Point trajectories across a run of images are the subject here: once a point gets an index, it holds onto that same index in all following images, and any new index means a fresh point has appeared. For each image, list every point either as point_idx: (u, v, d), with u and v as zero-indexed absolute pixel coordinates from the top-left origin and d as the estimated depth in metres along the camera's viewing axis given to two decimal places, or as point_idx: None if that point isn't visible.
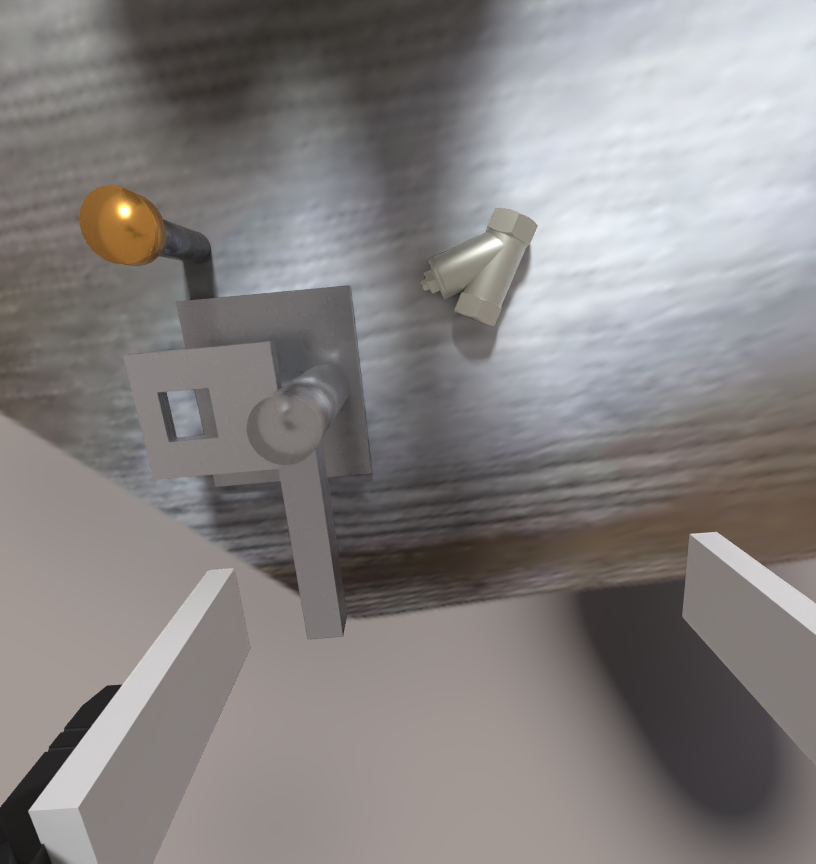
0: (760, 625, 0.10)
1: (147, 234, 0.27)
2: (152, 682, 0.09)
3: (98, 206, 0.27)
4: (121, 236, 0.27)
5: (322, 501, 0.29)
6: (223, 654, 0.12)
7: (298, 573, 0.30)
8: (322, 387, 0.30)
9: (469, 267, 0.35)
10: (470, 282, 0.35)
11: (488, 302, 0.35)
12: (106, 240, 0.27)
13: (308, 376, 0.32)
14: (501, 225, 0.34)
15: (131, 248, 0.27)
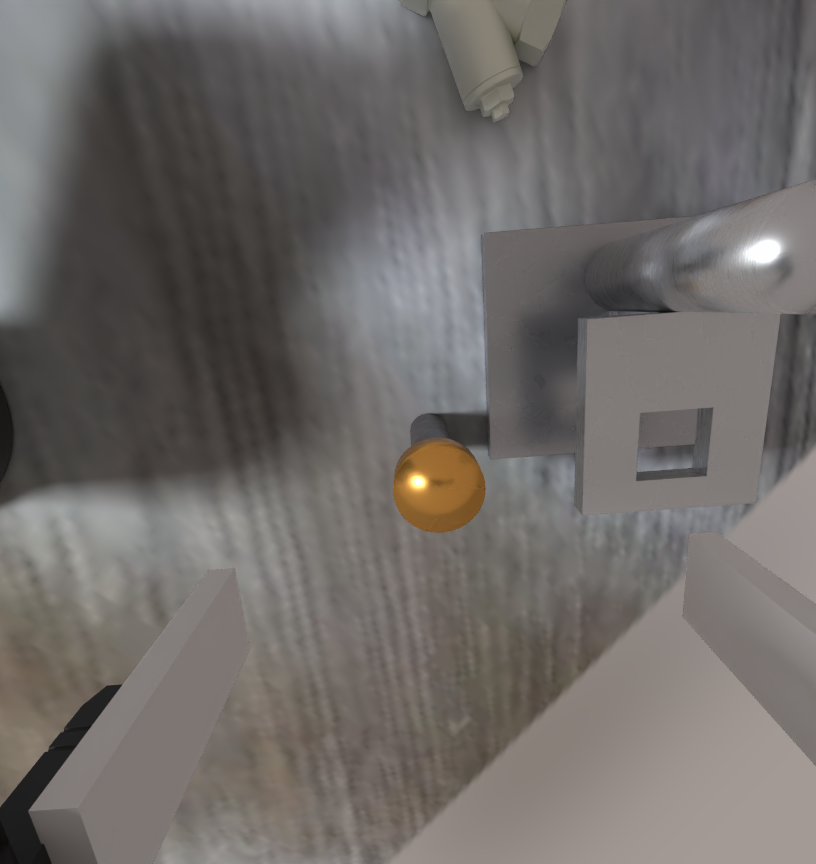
0: (759, 624, 0.10)
1: (451, 455, 0.21)
2: (152, 682, 0.09)
3: (416, 508, 0.21)
4: (452, 486, 0.21)
5: None
6: (223, 654, 0.12)
7: None
8: (681, 228, 0.19)
9: (485, 22, 0.23)
10: (505, 23, 0.23)
11: None
12: (456, 505, 0.21)
13: (645, 262, 0.21)
14: None
15: (467, 477, 0.21)
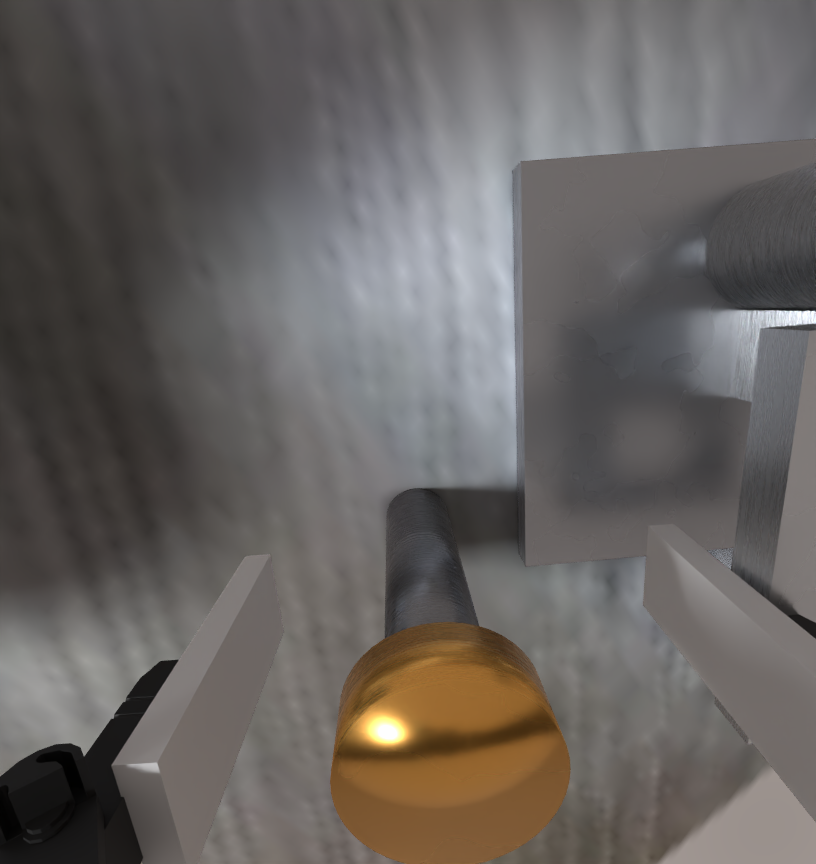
0: (704, 610, 0.11)
1: (483, 700, 0.08)
2: (208, 655, 0.10)
3: (393, 820, 0.08)
4: (485, 772, 0.08)
5: None
6: (263, 635, 0.13)
7: None
8: None
9: None
10: None
11: None
12: (495, 811, 0.08)
13: None
14: None
15: (524, 749, 0.08)
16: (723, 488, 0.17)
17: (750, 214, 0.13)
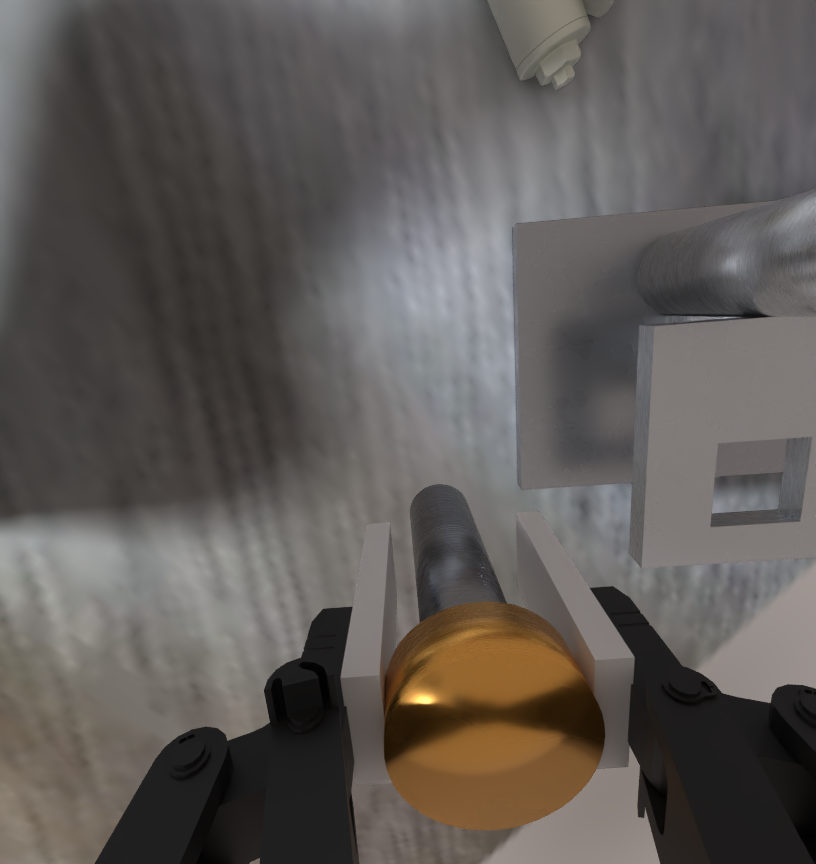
0: (540, 584, 0.13)
1: (526, 670, 0.08)
2: (377, 600, 0.11)
3: (440, 783, 0.09)
4: (526, 738, 0.09)
5: None
6: (392, 592, 0.14)
7: None
8: (788, 207, 0.14)
9: None
10: None
11: None
12: (534, 775, 0.09)
13: (732, 253, 0.16)
14: None
15: (563, 716, 0.09)
16: None
17: (658, 256, 0.21)
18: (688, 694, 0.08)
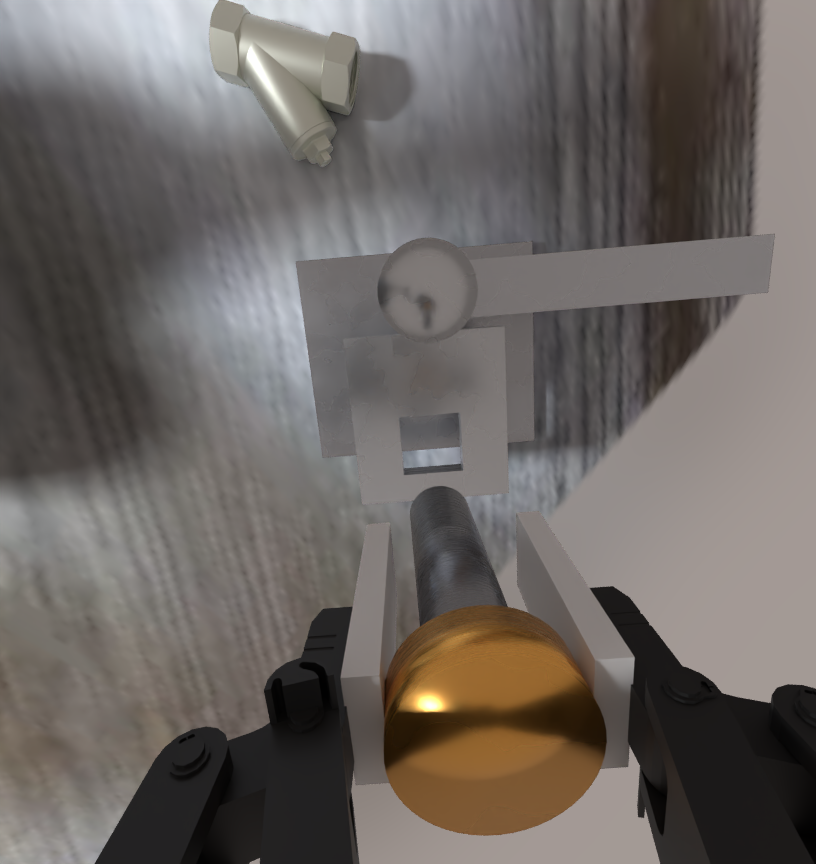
0: (540, 584, 0.13)
1: (527, 674, 0.08)
2: (377, 600, 0.11)
3: (440, 789, 0.09)
4: (527, 743, 0.09)
5: (543, 254, 0.20)
6: (392, 592, 0.14)
7: (653, 298, 0.20)
8: None
9: (288, 91, 0.27)
10: (307, 88, 0.27)
11: (326, 51, 0.26)
12: (535, 780, 0.09)
13: None
14: (230, 53, 0.26)
15: (564, 721, 0.09)
16: (418, 417, 0.34)
17: None
18: (688, 694, 0.08)
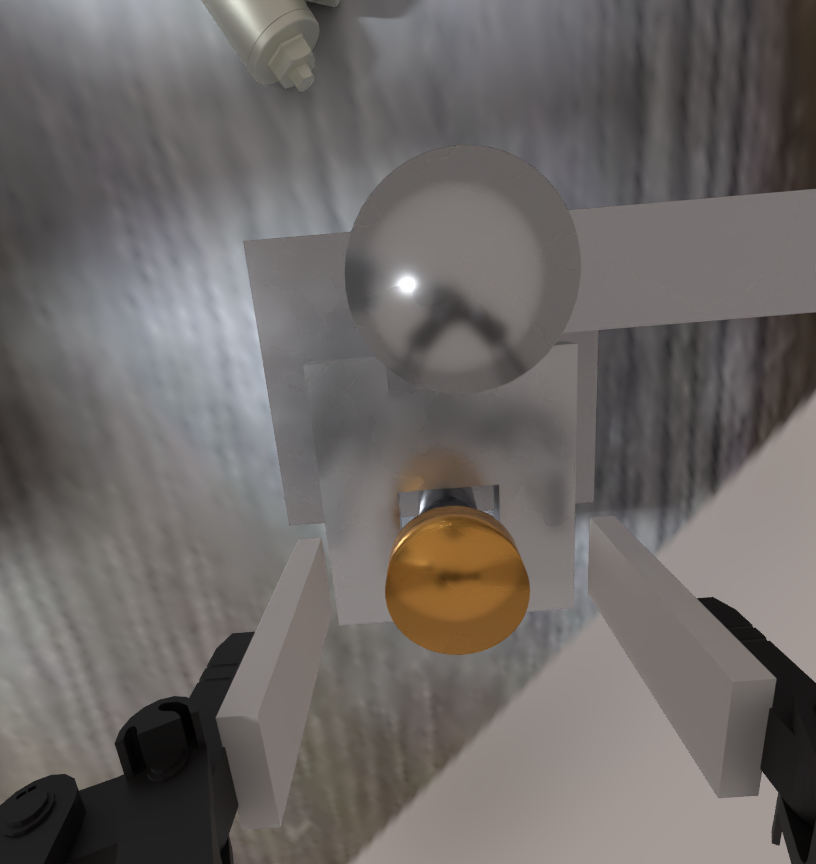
0: (630, 594, 0.12)
1: (476, 540, 0.13)
2: (282, 626, 0.11)
3: (421, 618, 0.14)
4: (477, 588, 0.13)
5: (706, 200, 0.09)
6: (318, 612, 0.13)
7: None
8: None
9: None
10: None
11: None
12: (483, 616, 0.14)
13: None
14: None
15: (501, 574, 0.13)
16: None
17: None
18: None
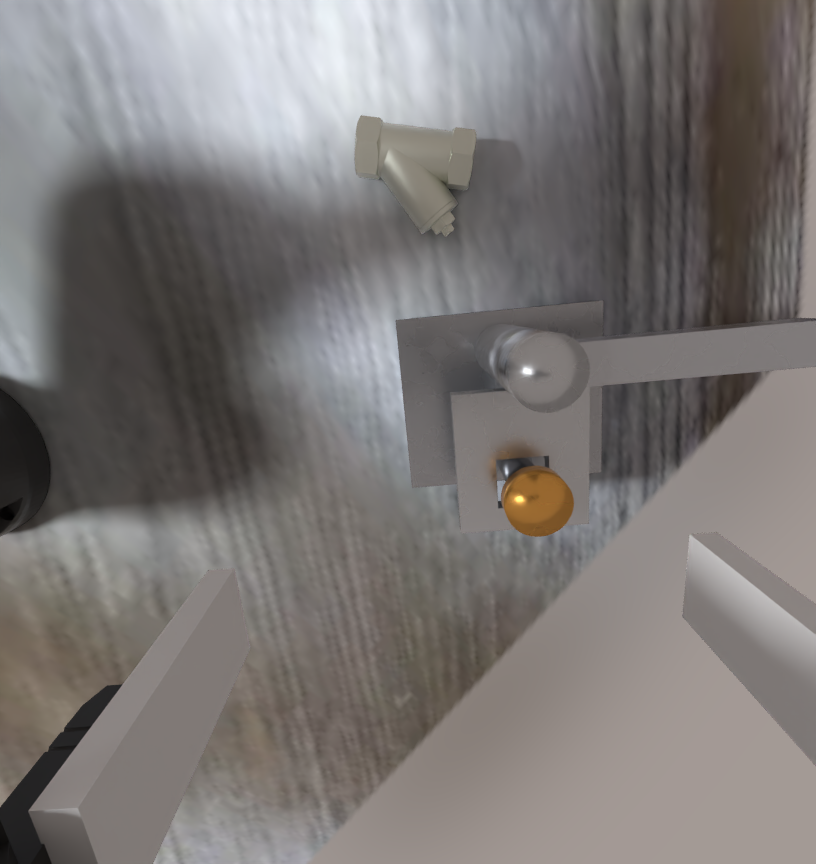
0: (759, 624, 0.10)
1: (549, 479, 0.28)
2: (152, 682, 0.09)
3: (522, 518, 0.29)
4: (549, 502, 0.28)
5: (638, 337, 0.24)
6: (223, 654, 0.12)
7: (729, 371, 0.25)
8: (501, 339, 0.28)
9: (421, 181, 0.32)
10: (435, 176, 0.32)
11: (453, 145, 0.31)
12: (551, 516, 0.29)
13: (488, 357, 0.30)
14: (371, 158, 0.31)
15: (560, 495, 0.28)
16: None
17: (479, 343, 0.35)
18: None
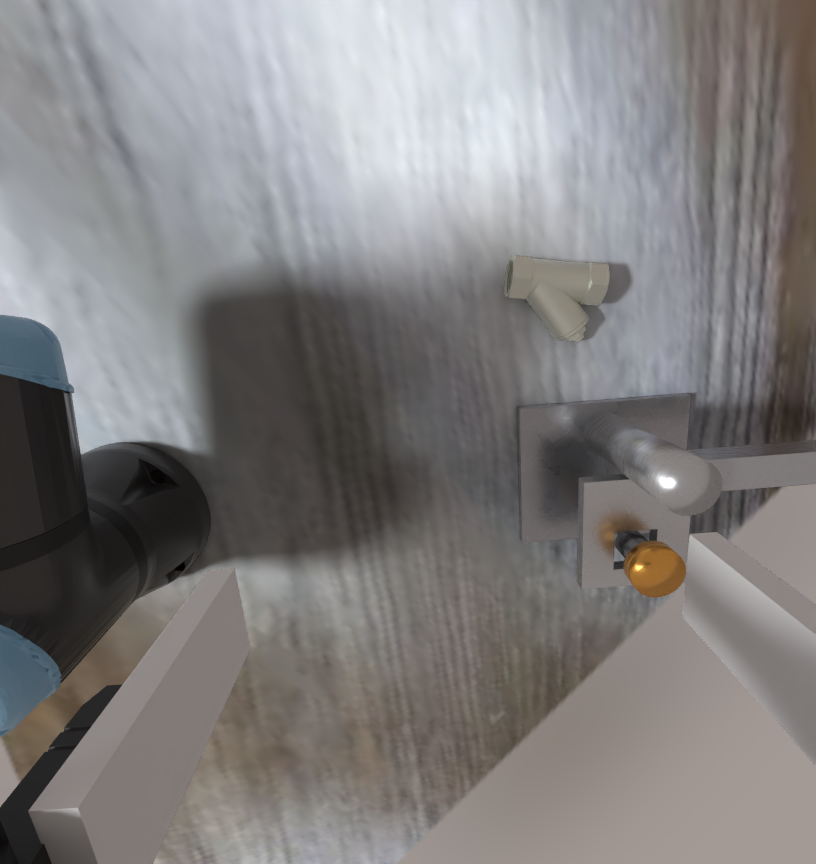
0: (759, 625, 0.10)
1: (668, 554, 0.36)
2: (152, 682, 0.09)
3: (644, 583, 0.36)
4: (666, 571, 0.36)
5: (752, 457, 0.32)
6: (223, 654, 0.12)
7: None
8: (633, 445, 0.35)
9: (564, 305, 0.39)
10: (574, 299, 0.39)
11: (592, 278, 0.38)
12: (667, 582, 0.36)
13: (616, 454, 0.37)
14: (524, 288, 0.39)
15: (676, 566, 0.36)
16: None
17: (591, 430, 0.42)
18: None
